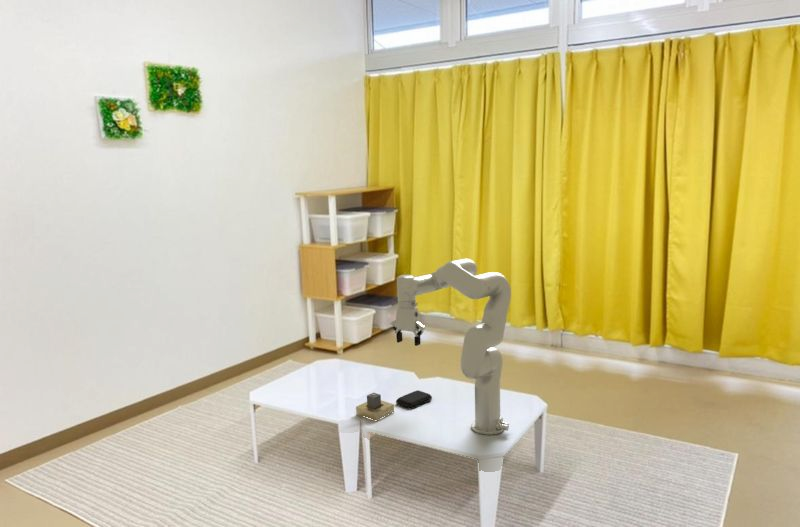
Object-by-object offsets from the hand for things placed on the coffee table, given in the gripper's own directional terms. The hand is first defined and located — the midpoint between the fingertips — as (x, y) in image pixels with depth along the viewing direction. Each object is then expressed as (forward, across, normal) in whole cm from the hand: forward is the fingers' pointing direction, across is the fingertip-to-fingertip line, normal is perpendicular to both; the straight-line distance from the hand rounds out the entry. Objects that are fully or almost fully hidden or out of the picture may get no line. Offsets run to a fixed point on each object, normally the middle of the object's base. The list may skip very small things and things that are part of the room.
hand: (408, 343), depth 237 cm
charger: (+25, +4, +20) cm, 32 cm away
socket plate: (+26, +4, +19) cm, 32 cm away
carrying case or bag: (+26, -2, 0) cm, 26 cm away
